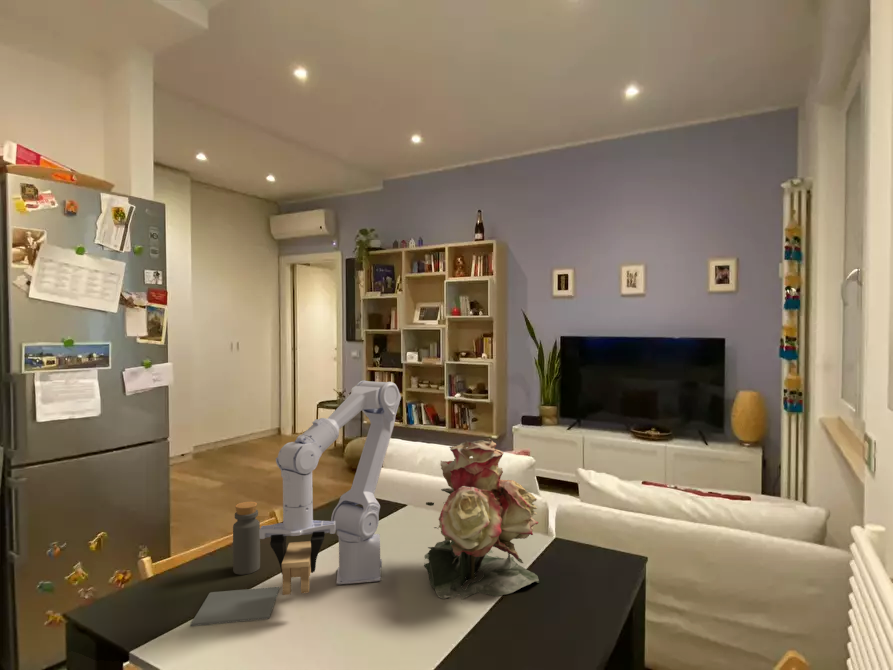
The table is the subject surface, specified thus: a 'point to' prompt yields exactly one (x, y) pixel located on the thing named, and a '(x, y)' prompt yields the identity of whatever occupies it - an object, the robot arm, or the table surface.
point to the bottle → (246, 539)
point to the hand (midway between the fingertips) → (298, 570)
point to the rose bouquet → (480, 526)
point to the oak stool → (297, 565)
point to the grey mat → (236, 606)
